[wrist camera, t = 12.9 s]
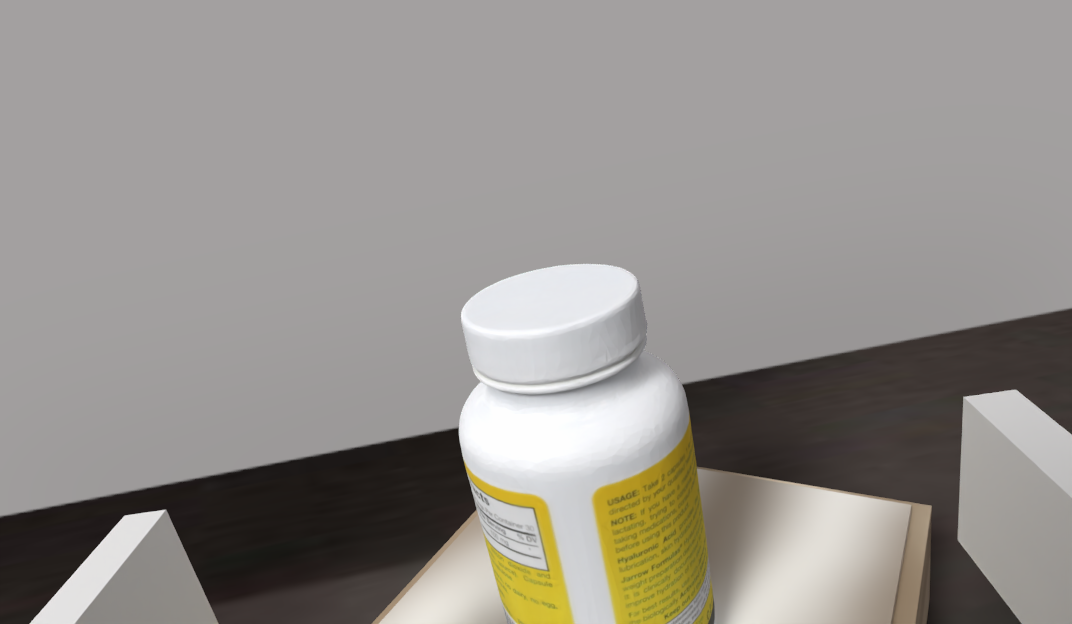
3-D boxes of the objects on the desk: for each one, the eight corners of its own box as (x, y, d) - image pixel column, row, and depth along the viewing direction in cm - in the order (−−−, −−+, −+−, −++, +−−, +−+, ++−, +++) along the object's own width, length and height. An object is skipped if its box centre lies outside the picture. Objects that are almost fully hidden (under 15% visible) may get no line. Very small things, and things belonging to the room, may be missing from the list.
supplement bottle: (709, 555, 21) (672, 239, 17) (728, 724, 16) (680, 333, 13) (530, 563, 22) (460, 267, 19) (497, 723, 17) (393, 363, 14)
